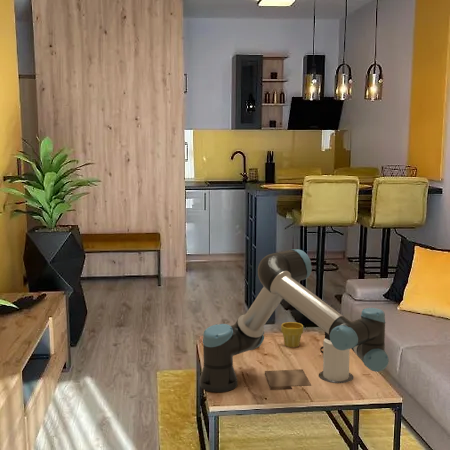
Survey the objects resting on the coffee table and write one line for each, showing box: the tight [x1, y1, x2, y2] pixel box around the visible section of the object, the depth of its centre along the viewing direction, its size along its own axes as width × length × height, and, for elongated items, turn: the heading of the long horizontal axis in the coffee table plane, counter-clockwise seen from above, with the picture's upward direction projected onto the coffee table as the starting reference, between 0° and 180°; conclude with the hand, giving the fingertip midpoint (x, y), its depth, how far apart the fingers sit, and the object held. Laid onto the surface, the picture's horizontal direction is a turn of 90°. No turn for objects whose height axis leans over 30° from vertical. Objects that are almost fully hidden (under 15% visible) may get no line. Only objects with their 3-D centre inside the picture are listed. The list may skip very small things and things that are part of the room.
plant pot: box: [280, 321, 304, 348], centre depth 278 cm, size 10×10×10 cm
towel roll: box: [322, 338, 351, 381], centre depth 238 cm, size 10×10×15 cm
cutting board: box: [264, 368, 312, 391], centre depth 237 cm, size 16×16×1 cm
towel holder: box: [318, 370, 354, 384], centre depth 238 cm, size 14×14×13 cm
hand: (345, 327), depth 224 cm, fingers open, 13 cm apart
